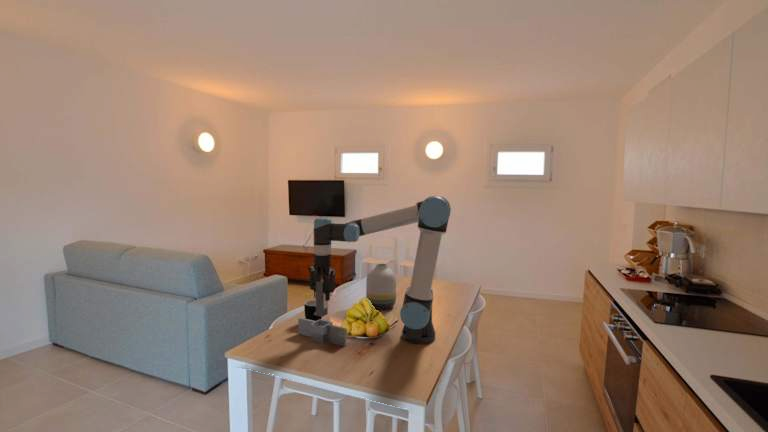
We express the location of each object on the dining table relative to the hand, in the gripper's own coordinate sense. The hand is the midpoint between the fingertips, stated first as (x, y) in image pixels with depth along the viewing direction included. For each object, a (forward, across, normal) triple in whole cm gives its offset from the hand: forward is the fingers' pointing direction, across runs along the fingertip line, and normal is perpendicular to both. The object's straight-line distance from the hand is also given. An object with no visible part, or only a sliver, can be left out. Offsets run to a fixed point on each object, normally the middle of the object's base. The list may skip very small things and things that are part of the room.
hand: (321, 306), depth 156 cm
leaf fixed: (+15, -5, 0) cm, 16 cm away
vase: (+15, -2, -52) cm, 54 cm away
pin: (+4, 0, 0) cm, 4 cm away
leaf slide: (+15, +5, 0) cm, 15 cm away
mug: (+15, +15, -15) cm, 26 cm away
